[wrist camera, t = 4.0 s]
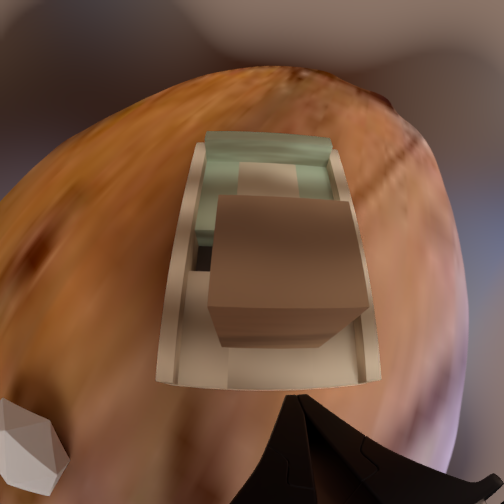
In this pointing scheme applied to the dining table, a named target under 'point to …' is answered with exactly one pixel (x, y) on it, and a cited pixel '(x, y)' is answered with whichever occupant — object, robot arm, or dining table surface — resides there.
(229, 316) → the walnut block
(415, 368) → the dining table surface
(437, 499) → the robot arm
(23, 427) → the die
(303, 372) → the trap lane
